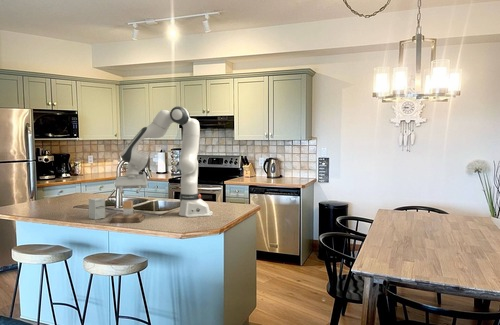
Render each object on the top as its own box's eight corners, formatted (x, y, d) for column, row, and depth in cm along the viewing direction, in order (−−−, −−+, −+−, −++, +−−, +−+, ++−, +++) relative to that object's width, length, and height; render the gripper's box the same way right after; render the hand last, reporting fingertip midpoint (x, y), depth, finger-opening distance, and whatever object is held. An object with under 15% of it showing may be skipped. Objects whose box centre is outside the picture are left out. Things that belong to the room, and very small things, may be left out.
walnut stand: (145, 216, 242) (145, 212, 242) (140, 222, 226) (140, 217, 226) (117, 217, 241) (116, 212, 241) (109, 223, 225) (109, 218, 225)
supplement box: (95, 220, 234) (94, 200, 233) (88, 218, 238) (88, 198, 237) (105, 217, 239) (105, 198, 238) (99, 216, 244) (98, 197, 243)
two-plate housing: (133, 214, 236) (132, 200, 235) (131, 215, 232) (131, 201, 231) (125, 214, 235) (124, 200, 234) (123, 215, 231) (123, 201, 230)
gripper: (115, 173, 243) (112, 190, 234) (147, 172, 245) (145, 189, 236) (117, 179, 248) (114, 196, 239) (149, 178, 250) (146, 195, 241)
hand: (129, 192), depth 238 cm, fingers open, 8 cm apart
